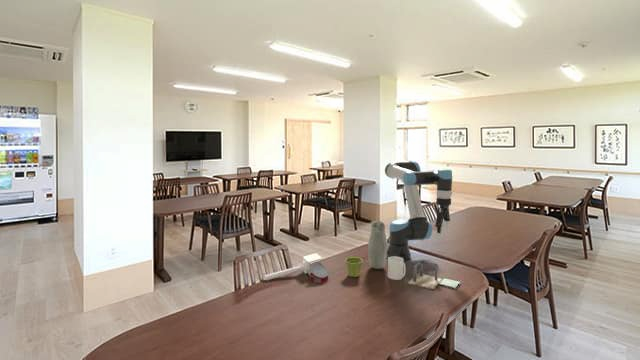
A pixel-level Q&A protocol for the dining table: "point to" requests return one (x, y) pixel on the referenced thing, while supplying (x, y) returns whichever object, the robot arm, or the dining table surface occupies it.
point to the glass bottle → (377, 245)
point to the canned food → (318, 273)
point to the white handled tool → (303, 267)
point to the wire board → (425, 281)
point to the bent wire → (422, 269)
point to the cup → (396, 268)
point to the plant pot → (354, 266)
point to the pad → (449, 283)
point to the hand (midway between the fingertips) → (442, 235)
